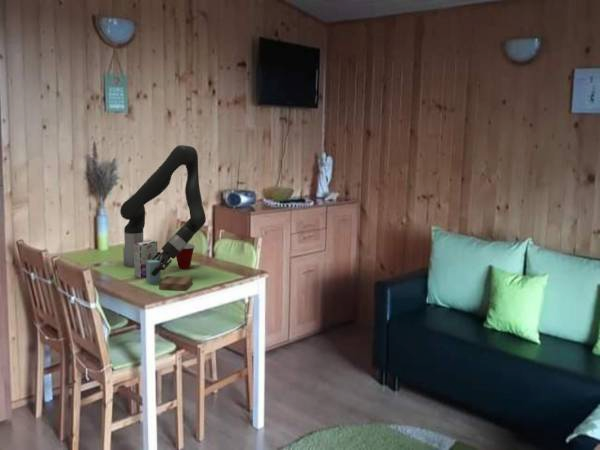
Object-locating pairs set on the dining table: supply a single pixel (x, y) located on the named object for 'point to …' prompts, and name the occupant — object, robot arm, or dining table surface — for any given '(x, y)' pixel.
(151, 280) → the teal block
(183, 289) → the walnut board
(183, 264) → the plastic cup
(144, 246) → the candy bar box
